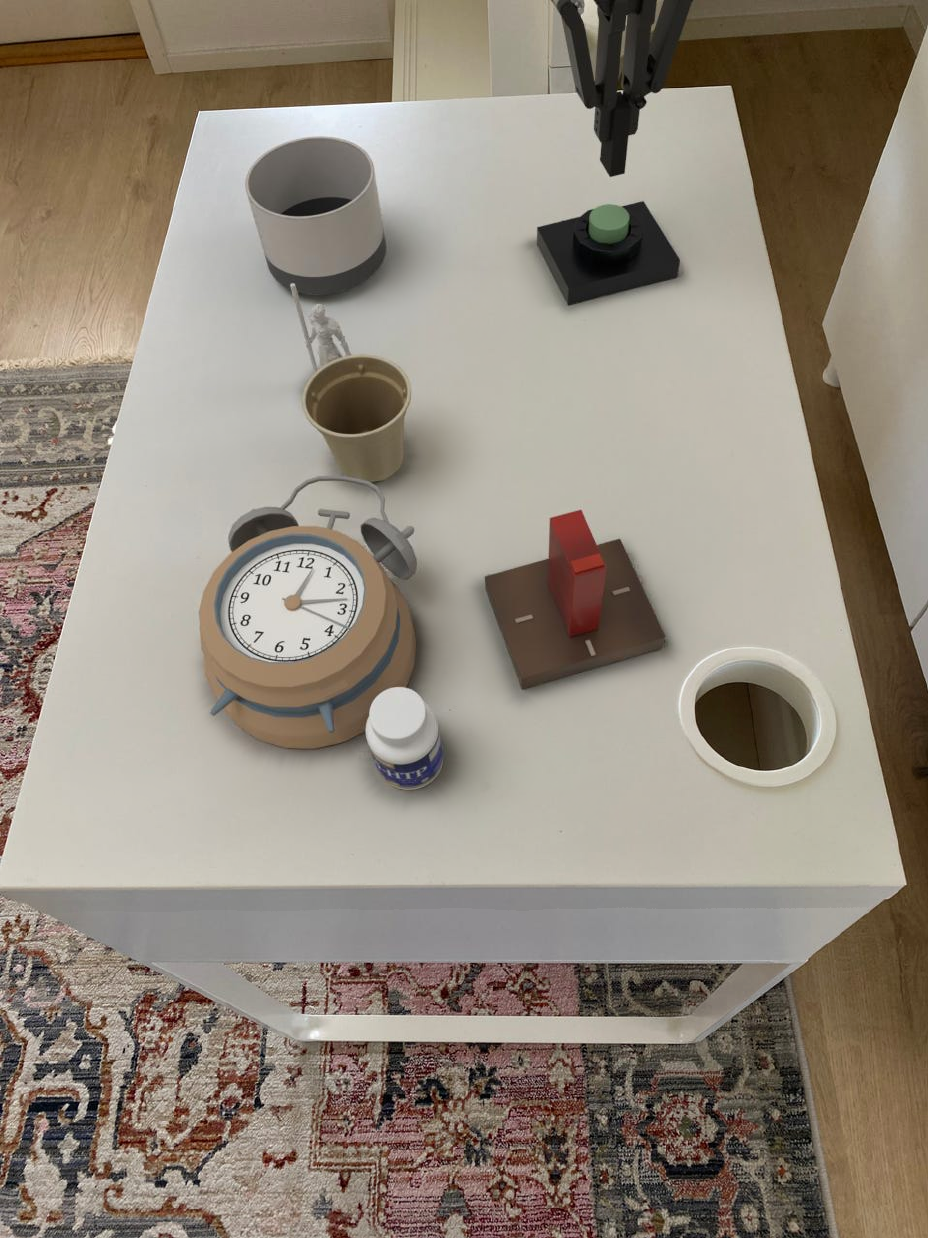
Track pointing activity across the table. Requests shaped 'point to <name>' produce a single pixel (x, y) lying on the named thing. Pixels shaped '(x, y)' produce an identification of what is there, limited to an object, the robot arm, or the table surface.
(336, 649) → the alarm clock
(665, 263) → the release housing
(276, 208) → the planter
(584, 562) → the red rectangular block
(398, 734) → the pill bottle
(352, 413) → the flower pot
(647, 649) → the base plate
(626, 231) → the release button
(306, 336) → the figurine
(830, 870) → the table surface
